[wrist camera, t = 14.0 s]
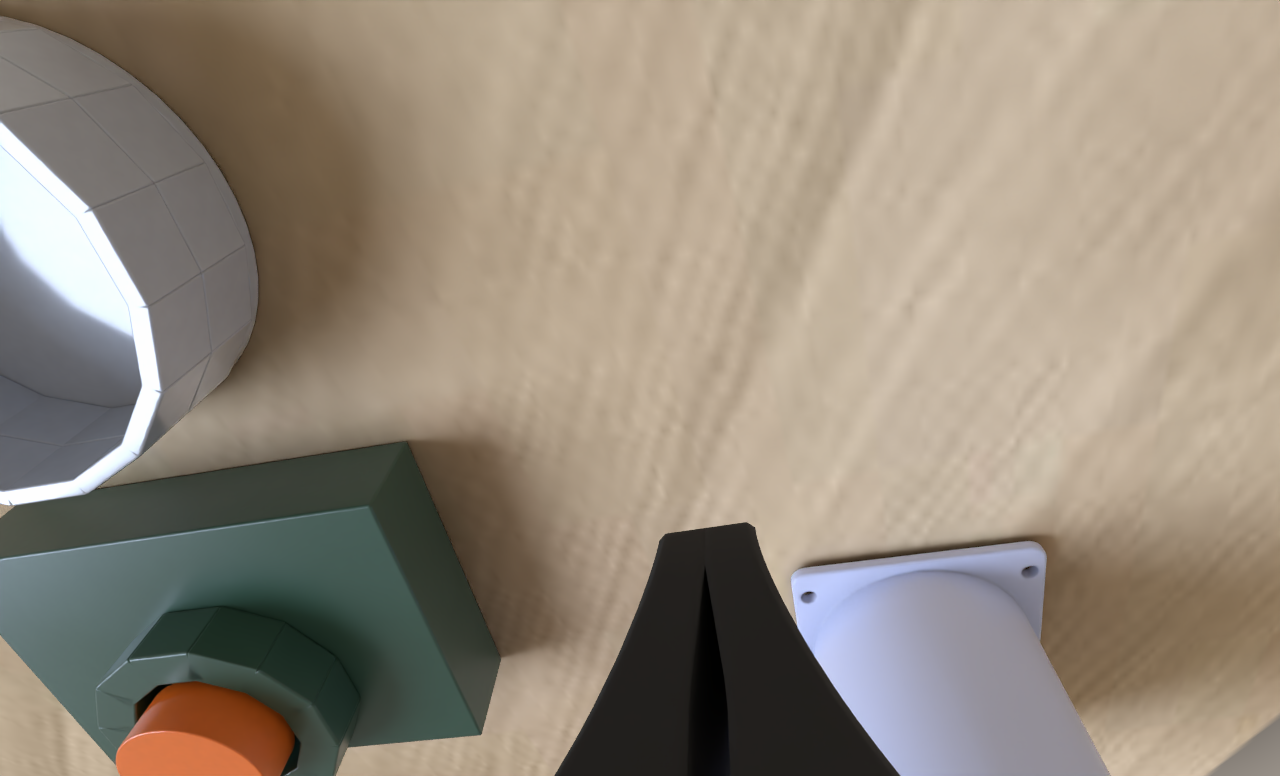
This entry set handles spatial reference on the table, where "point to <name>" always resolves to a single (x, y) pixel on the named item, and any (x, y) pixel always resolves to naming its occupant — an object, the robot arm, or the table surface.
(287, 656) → the control box
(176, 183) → the pot
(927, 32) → the table surface
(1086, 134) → the table surface
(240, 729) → the button
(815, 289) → the table surface
